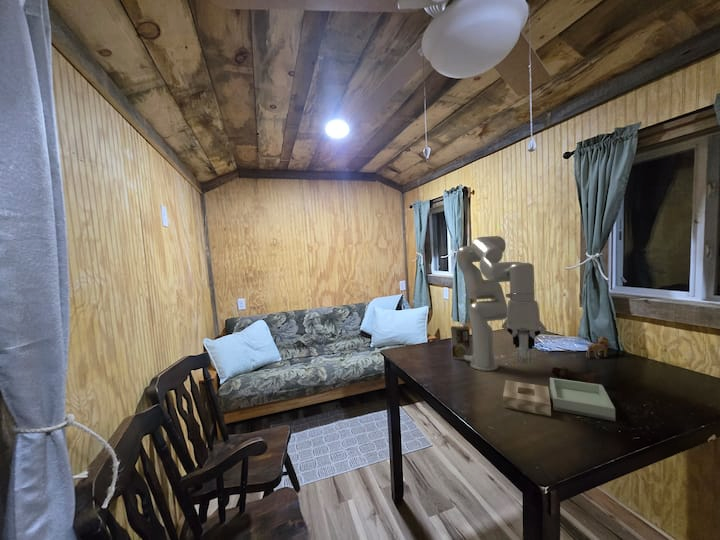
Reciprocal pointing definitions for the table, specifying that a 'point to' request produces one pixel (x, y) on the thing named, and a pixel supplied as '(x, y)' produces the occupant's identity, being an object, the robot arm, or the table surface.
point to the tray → (581, 399)
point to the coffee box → (460, 341)
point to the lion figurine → (598, 347)
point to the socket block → (527, 397)
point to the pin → (524, 345)
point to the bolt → (575, 375)
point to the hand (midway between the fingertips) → (523, 346)
